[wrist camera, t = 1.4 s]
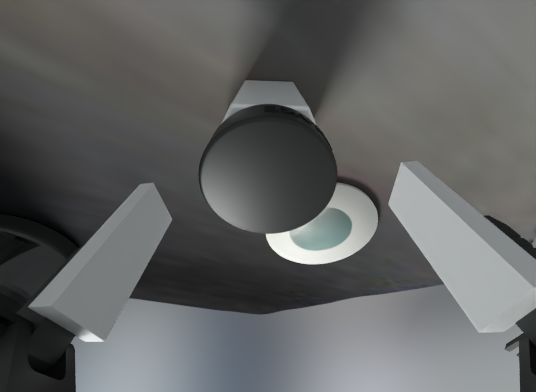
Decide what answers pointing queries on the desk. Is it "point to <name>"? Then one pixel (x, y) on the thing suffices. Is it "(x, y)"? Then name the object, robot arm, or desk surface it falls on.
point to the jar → (268, 161)
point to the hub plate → (330, 230)
